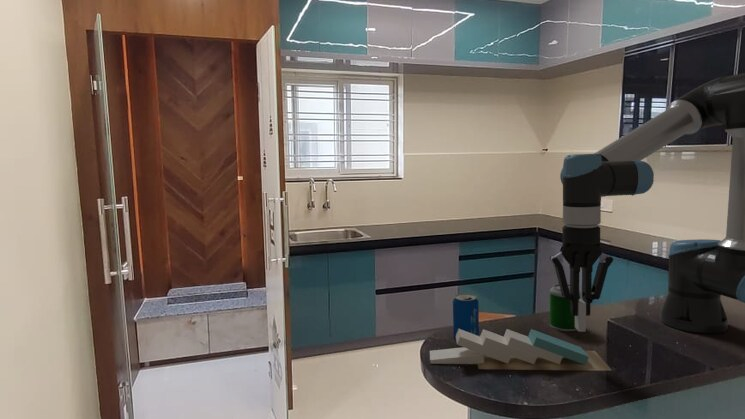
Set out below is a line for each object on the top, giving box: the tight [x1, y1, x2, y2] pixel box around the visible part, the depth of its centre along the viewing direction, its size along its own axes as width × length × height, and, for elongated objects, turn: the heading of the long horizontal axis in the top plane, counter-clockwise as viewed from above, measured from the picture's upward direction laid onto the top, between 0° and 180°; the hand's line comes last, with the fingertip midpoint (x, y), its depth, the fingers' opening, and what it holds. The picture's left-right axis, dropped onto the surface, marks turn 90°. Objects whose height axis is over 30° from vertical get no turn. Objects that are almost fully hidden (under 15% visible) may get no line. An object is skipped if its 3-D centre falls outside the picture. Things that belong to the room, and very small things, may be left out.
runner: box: [476, 350, 613, 372], centre depth 103 cm, size 28×10×1 cm, turn 84°
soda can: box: [549, 283, 581, 332], centre depth 122 cm, size 8×8×12 cm
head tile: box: [527, 328, 589, 365], centre depth 102 cm, size 2×5×12 cm
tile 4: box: [455, 329, 511, 364], centre depth 104 cm, size 2×5×12 cm
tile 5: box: [429, 346, 484, 365], centre depth 105 cm, size 2×5×12 cm
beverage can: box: [452, 292, 480, 340], centre depth 117 cm, size 6×6×12 cm
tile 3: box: [479, 328, 538, 364], centre depth 104 cm, size 2×5×12 cm
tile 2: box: [503, 328, 563, 364], centre depth 103 cm, size 2×5×12 cm
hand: (580, 329), depth 101 cm, fingers closed
